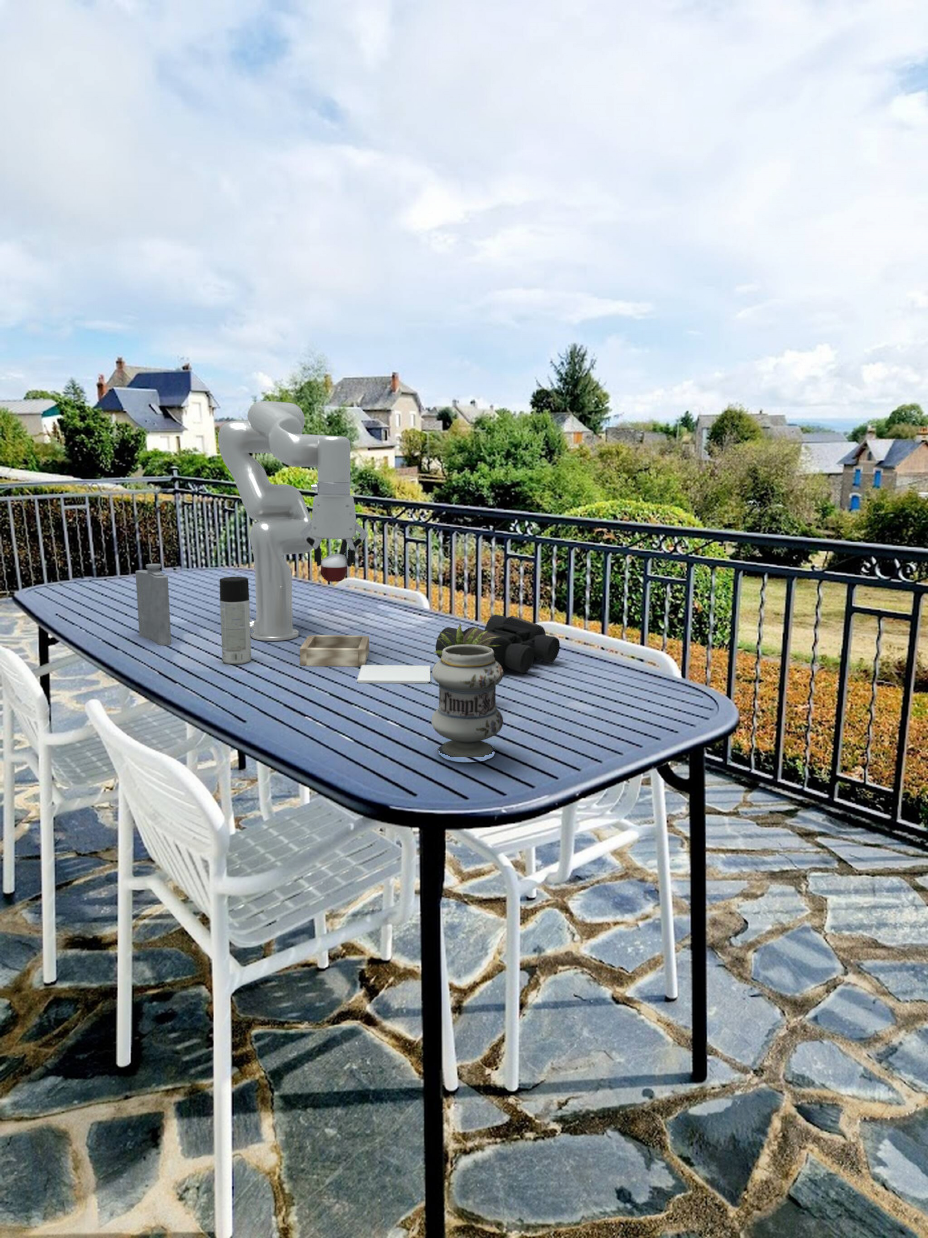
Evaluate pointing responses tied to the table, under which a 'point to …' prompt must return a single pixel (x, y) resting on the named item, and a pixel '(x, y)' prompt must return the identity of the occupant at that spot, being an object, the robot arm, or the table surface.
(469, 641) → the house plant
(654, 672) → the table surface
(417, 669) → the mat
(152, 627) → the hip flask
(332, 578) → the cocoa
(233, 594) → the spray can
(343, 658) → the holder
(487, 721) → the apothecary jar
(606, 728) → the table surface
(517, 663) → the binoculars
